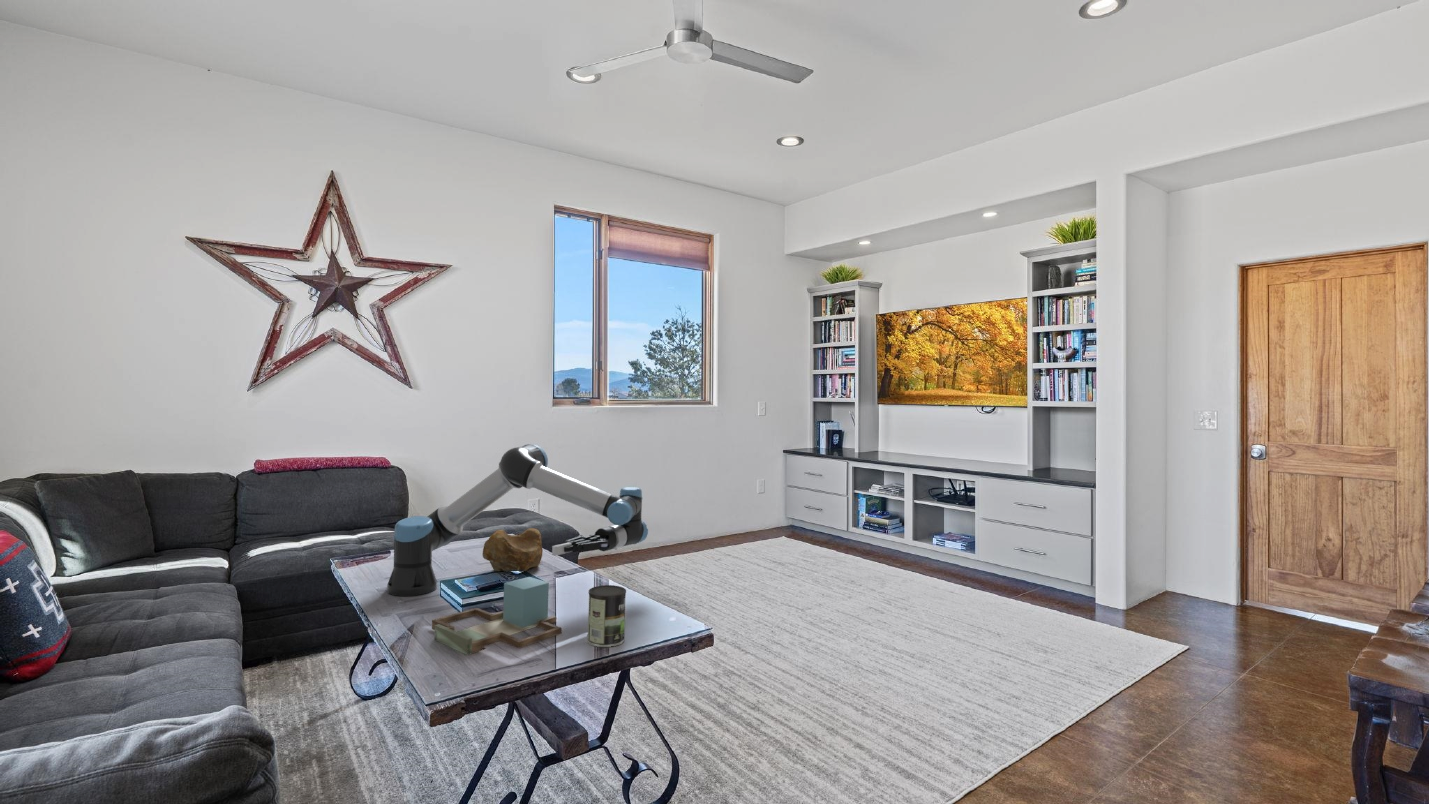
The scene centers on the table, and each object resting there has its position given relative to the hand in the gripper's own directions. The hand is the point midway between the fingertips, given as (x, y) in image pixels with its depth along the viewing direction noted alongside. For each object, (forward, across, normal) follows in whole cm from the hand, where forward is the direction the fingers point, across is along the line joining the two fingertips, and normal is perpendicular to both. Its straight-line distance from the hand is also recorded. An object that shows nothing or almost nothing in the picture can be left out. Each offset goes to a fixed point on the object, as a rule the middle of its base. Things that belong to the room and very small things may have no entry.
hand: (553, 550), depth 207 cm
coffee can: (+3, -26, -20) cm, 33 cm away
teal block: (+10, 0, -19) cm, 21 cm away
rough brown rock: (-23, +48, -20) cm, 57 cm away
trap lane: (+19, 0, -20) cm, 27 cm away
